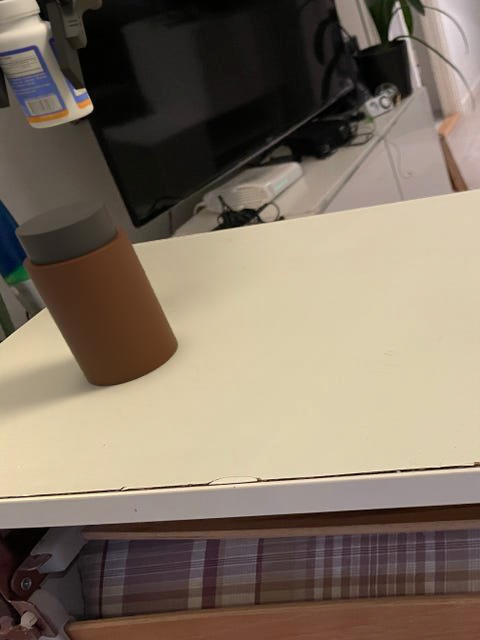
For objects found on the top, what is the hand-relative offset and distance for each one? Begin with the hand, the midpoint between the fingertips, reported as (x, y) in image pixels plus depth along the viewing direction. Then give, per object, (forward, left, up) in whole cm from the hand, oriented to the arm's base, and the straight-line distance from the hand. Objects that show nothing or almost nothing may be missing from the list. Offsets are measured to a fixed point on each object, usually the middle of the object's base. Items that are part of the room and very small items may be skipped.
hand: (34, 88), depth 63 cm
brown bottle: (+3, -6, -22) cm, 23 cm away
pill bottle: (-2, +3, -4) cm, 5 cm away
